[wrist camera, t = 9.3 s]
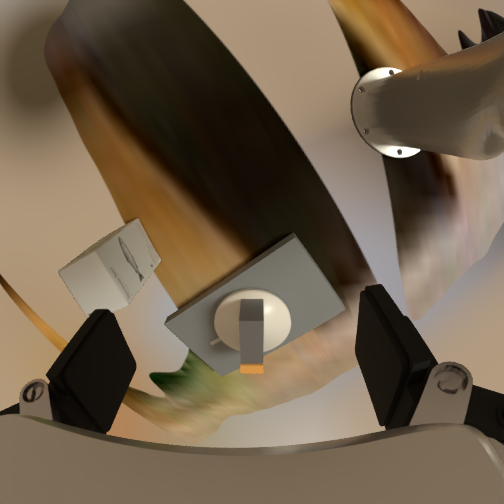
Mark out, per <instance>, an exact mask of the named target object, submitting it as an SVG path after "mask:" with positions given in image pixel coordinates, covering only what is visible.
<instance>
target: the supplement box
mask: <svg viewBox="0 0 504 504" xmlns="http://www.w3.org/2000/svg"><path fill="white" fill-rule="evenodd" d="M160 262H161V258H160V257H159V255H158V254H157V252H156V251H155V249H154V247H153V245H152V244H151V242H150V240H149V238H148V236H147V234H146V232H145V230H144V228H143V226H142V224H141V222H140V220H139V218H137V219H135V220H133V221H131V222H130V223H128V224H126V225H124V226H122V227H120V228H119V229H117V230H116V231H113V232H112V233H110V234H108V235H107V236H105V237H103V238H102V239H100V240H99V241H98V242H96V243H95V244H93V245H92V246H91V247H89V248H88V249H87V250H86V251H84V252H83V253H82V254H80V255H79V256H77V257H76V258H75V259H74V260H72V261H71V262H70V263H68V264H67V265H66V266H65V267H63V268H62V269H60V270H59V271H58V273H59V275H60V276H61V278H62V280H63V281H64V283H65V284H66V286H67V288H68V289H69V291H70V293H71V294H72V296H73V297H74V299H75V300H76V302H77V303H78V305H79V306H80V308H81V309H82V311H83V312H84V314H85V315H86V316H87V318H88V317H89V316H90V315H91V313H92V312H93V311H94V310H95V309H109V310H110V311H111V312H114V311H116V310H119V309H122V308H124V307H127V306H128V305H129V304H130V303H131V301H132V300H133V299H134V297H135V296H136V294H137V293H138V292H139V290H140V289H141V288H142V286H143V285H144V283H145V282H146V281H147V279H148V278H149V276H150V275H151V274H152V272H153V271H154V270H155V269H156V267H157V266H158V264H159V263H160Z"/></svg>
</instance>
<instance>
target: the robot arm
mask: <svg viewBox="0 0 504 504" xmlns="http://www.w3.org/2000/svg"><path fill="white" fill-rule="evenodd" d="M389 73H390V74H389ZM358 89H360V90H361V92H359V90H358ZM351 114H352V119H353V122H354V125H355V127H356V129H357V131H358V133H359V134H360V136H361V137H362V138H363V140H364V141H365V142H366V143H367V144H368V145H369V146H370V147H371V148H372V149H374V150H376V151H377V152H379V153H381V154H383V155H386V156H390V157H395V158H404V157H409V156H412V155H414V154H416V153H417V152H419V151H420V150H426V151H432V152H437V153H443V154H448V155H453V156H458V157H463V158H469V159H473V160H489V159H492V158H495V157H497V156H499V155H501V154H502V153H503V152H504V32H503V33H501V34H499V35H497V36H495V37H493V38H491V39H489V40H487V41H485V42H483V43H481V44H478V45H476V46H473V47H470V48H467V49H464V50H461V51H459V52H456V53H453V54H449V55H446V56H443V57H440V58H438V59H435V60H432V61H429V62H426V63H423V64H420V65H417V66H414V67H412V68H409V69H406V70H403V71H401V70H399V69H395V68H390V67H382V68H376V69H374V70H371V71H369V72H368V73H366V74H364V75H363V76H362V77H361V78H360V79H359V80H358V82H357V83H356V85H355V87H354V89H353V92H352V96H351ZM363 129H364V130H365V133H363ZM397 150H398V153H397ZM355 354H356V358H357V360H358V363H359V366H360V369H361V372H362V374H363V377H364V380H365V383H366V386H367V389H368V392H369V395H370V398H371V401H372V403H373V407H374V409H375V412H376V416H377V419H378V422H379V425H380V426H385V429H386V430H385V431H381V432H376V433H371V434H365V435H360V436H356V437H350V438H344V439H338V440H331V441H325V442H317V443H309V444H300V445H291V446H279V447H260V448H259V447H258V448H210V447H191V446H179V445H169V444H159V443H152V442H144V441H139V440H132V439H127V438H121V437H116V436H111V435H106V433H107V432H108V431H109V430H110V429H111V426H112V424H113V421H114V419H115V417H116V414H117V412H118V409H119V407H120V405H121V403H122V400H123V398H124V396H125V393H126V391H127V389H128V387H129V384H130V382H131V380H132V378H133V375H134V373H135V371H136V362H135V359H134V357H133V355H132V353H131V351H130V349H129V347H128V345H127V342H126V340H125V338H124V336H123V334H122V331H121V329H120V327H119V325H118V322H117V320H116V317H115V315H114V314H113V313H112V312H111V311H110V310H109V309H95V310H94V311H93V312H92V313H91V315H90V316H89V317H88V318H87V320H86V321H85V322H84V323H83V325H82V326H81V327H80V329H79V330H78V331H77V333H76V334H75V335H74V337H73V338H72V339H71V340H70V342H69V343H68V344H67V346H66V347H65V348H64V350H63V351H62V353H61V354H60V355H59V357H58V358H57V360H56V361H55V362H54V364H53V365H52V367H51V368H50V369H49V371H48V372H47V374H46V376H47V378H48V379H49V380H50V382H49V384H47V382H46V381H45V380H43V379H35V380H32V381H30V382H28V383H27V384H26V385H25V386H24V387H23V388H22V390H21V392H20V397H19V403H17V404H15V405H13V406H11V407H9V408H7V409H4V410H2V411H0V504H504V394H501V393H498V392H494V391H491V390H488V389H485V388H481V387H478V386H475V385H473V378H472V375H471V373H470V372H469V370H468V369H467V368H466V367H464V366H463V365H462V364H459V363H456V362H450V361H449V362H443V363H440V364H438V362H437V361H436V359H435V357H434V356H433V354H432V353H431V351H430V349H429V348H428V346H427V345H426V343H425V342H424V340H423V339H422V337H421V336H420V334H419V332H418V331H417V329H416V328H415V327H414V325H413V323H412V322H411V320H410V319H409V318H408V317H407V316H403V314H402V313H401V311H400V310H399V308H398V307H397V305H396V304H395V303H394V301H393V300H392V298H391V297H390V295H389V294H388V292H387V291H386V290H385V288H384V287H383V286H382V284H377V285H371V286H366V287H365V290H364V291H361V293H360V302H359V315H358V325H357V335H356V344H355Z"/></svg>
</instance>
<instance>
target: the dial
mask: <svg viewBox="0 0 504 504" xmlns="http://www.w3.org/2000/svg"><path fill="white" fill-rule="evenodd" d="M214 326H215V330H216V333H217V335H218V336H219V338H220V339H221V340H222V341H223V342H224V343H225V344H226V345H228V346H229V347H231V348H233V349H235V350H238V351H240V358H241V363H240V369H241V373H250V374H263V352H265V351H269V350H271V349H273V348H275V347H277V346H278V345H280V344H281V343H282V342H283V341H284V340H285V339H286V337H287V336H288V334H289V332H290V328H291V318H290V312H289V309H288V307H287V305H286V304H285V302H284V301H283V300H282V299H281V298H280V297H279V296H277V295H276V294H274V293H272V292H270V291H267V290H264V289H259V288H246V289H241V290H237V291H235V292H232V293H231V294H229V295H228V296H226V297H225V298H224V299H223V300H222V301H221V302H220V304H219V305H218V307H217V310H216V313H215V318H214Z"/></svg>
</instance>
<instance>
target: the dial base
mask: <svg viewBox="0 0 504 504" xmlns="http://www.w3.org/2000/svg"><path fill="white" fill-rule="evenodd" d="M246 288H259V289H264V290H267V291H270V292H272V293H274V294H276V295H277V296H279V297H280V298H281V299H282V300H283V301H284V302H285V304H286V305H287V307H288V309H289V312H290V318H291V328H290V332H289V334H288V336H287V337H286V339H285V340H284V341H283V342H282V343H281V344H280V345H278V346H277V347H275V348H273V349H271V350H269V351H265V352H263V356H265V355H267V354H268V353H270V352H272V351H274V350H276V349H278V348H280V347H282V346H284V345H285V344H287V343H289V342H291V341H293V340H295V339H296V338H298V337H300V336H302V335H303V334H305V333H307V332H309V331H310V330H312V329H314V328H316V327H317V326H319V325H321V324H322V323H324V322H326V321H328V320H329V319H331V318H333V317H334V316H336V315H337V314H339V313H341V312H342V311H344V310H346V309H345V307H344V305H343V302H342V301H341V299H340V298H339V296H338V295H337V294H336V292H335V291H334V289H333V288H332V286H331V285H330V283H329V282H328V280H327V279H326V277H325V276H324V275H323V273H322V272H321V270H320V269H319V267H318V266H317V265H316V263H315V262H314V260H313V259H312V257H311V256H310V255H309V253H308V252H307V250H306V249H305V248H304V246H303V245H302V243H301V242H300V241H299V239H298V238H297V236H296V235H295V234H294V232H293V233H292V234H290V235H289V236H287V237H286V238H284V239H283V240H281V241H280V242H278V243H277V244H275V245H274V246H272V247H271V248H269V249H268V250H267V251H265V252H264V253H262V254H261V255H259V256H258V257H256V258H255V259H253V260H252V261H250V262H249V263H247V264H246V265H244V266H243V267H241V268H240V269H238V270H237V271H235V272H234V273H232V274H231V275H230V276H228V277H227V278H225V279H224V280H222V281H221V282H219V283H218V284H216V285H215V286H213V287H212V288H210V289H209V290H207V291H206V292H204V293H203V294H201V295H200V296H198V297H197V298H195V299H194V300H192V301H191V302H189V303H188V304H186V305H185V306H183V307H182V308H180V309H179V310H177V311H176V312H174V313H173V314H171V315H170V316H168V317H167V319H166V322H165V324H164V325H165V326H166V327H167V328H168V329H169V330H170V331H172V332H173V333H174V334H175V335H176V336H177V337H178V338H179V339H180V340H181V341H182V342H183V343H184V344H185V345H186V346H187V347H189V348H190V349H191V350H192V351H193V352H194V353H195V354H196V355H197V356H199V357H200V358H201V359H202V360H203V361H204V362H205V363H206V364H208V365H209V366H210V367H211V368H212V369H213V370H215V371H216V372H217V373H218V374H219V375H221V376H224V375H226V374H228V373H230V372H232V371H234V370H236V369H239V368H240V363H241V358H240V351H238V350H235V349H233V348H231V347H229V346H228V345H226V344H225V343H224V342H223V341H222V340H221V339H220V338H219V336H218V335H217V333H216V330H215V326H214V318H215V313H216V310H217V307H218V305H219V304H220V302H221V301H222V300H223V299H224V298H225V297H226V296H228V295H229V294H231V293H232V292H235V291H237V290H241V289H246Z"/></svg>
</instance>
